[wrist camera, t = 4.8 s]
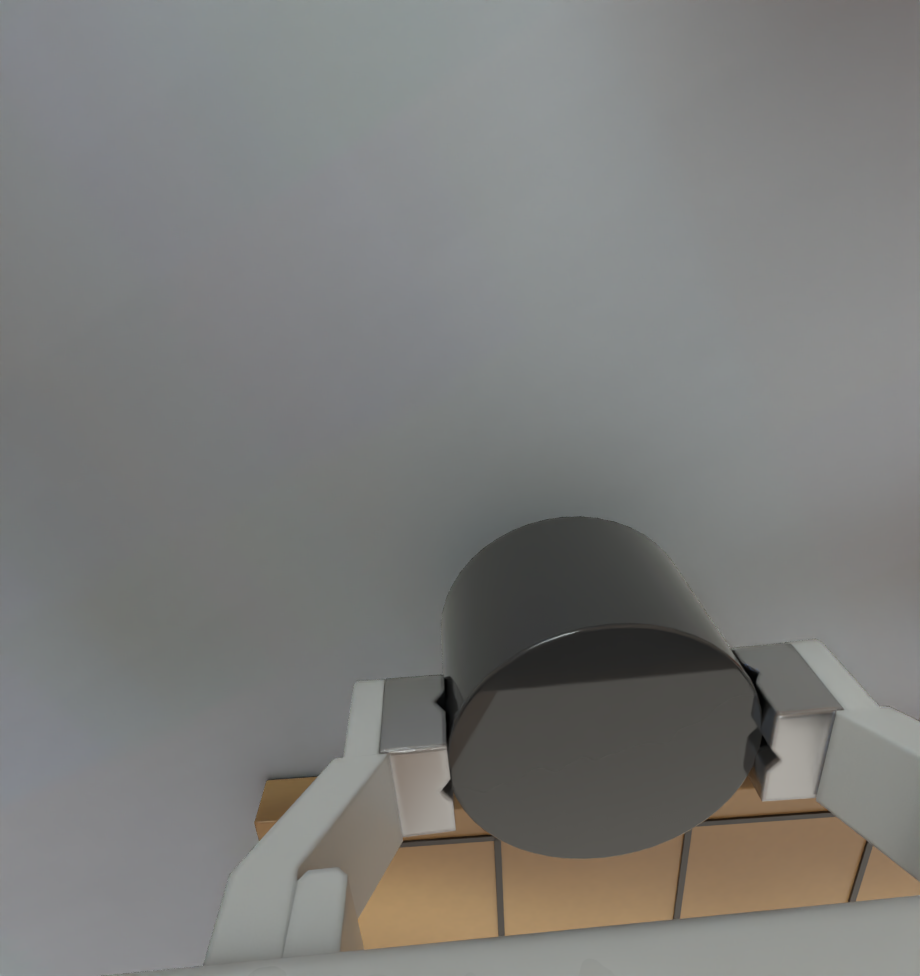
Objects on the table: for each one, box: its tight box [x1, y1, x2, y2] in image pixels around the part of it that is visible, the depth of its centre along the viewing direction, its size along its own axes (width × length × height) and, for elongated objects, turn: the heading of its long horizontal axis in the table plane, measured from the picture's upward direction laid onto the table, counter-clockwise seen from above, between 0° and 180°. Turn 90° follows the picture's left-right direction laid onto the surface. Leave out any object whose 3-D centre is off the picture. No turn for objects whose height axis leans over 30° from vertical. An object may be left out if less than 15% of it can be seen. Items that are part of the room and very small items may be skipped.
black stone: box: [441, 516, 762, 859], centre depth 11 cm, size 5×5×3 cm
